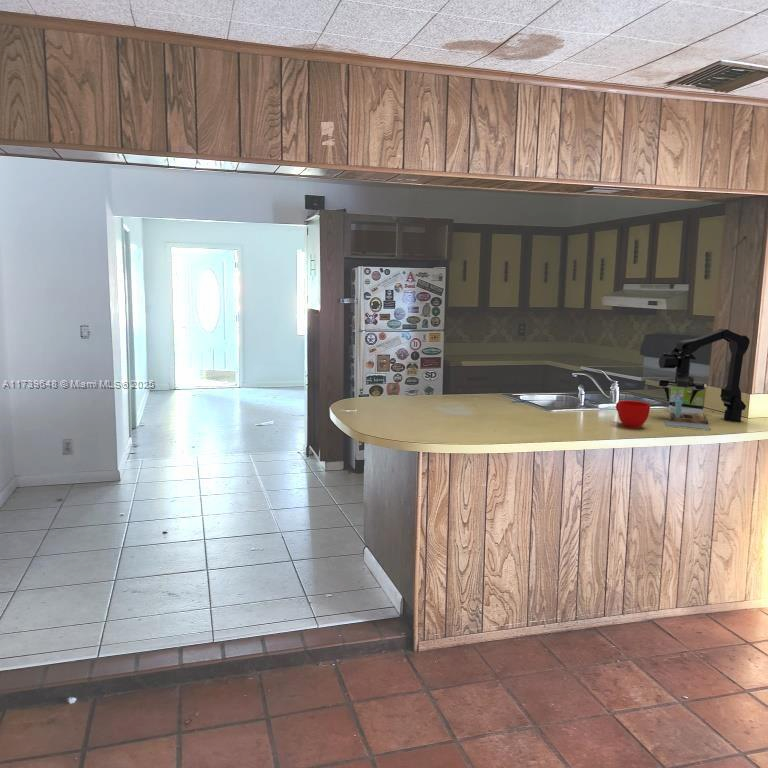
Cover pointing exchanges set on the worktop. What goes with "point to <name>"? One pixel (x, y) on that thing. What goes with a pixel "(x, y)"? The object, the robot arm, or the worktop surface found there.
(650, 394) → the worktop surface
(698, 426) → the mat
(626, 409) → the ceramic cup
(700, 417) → the offcut upper
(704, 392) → the tea box
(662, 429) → the worktop surface
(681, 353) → the robot arm
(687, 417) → the tray
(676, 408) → the teal flat block
